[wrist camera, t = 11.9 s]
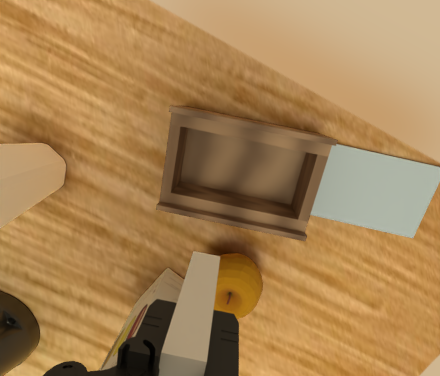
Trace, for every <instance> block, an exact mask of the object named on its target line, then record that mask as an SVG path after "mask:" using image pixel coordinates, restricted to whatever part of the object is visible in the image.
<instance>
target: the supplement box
mask: <svg viewBox="0 0 440 376" xmlns="http://www.w3.org/2000/svg"><path fill="white" fill-rule="evenodd" d="M183 282H184V279H183V278H181V277H180V276H179V275H177V274H176V273H175V272H173V271H172V270H171V269H169V268H167V269H166V270H165V271H164V272H163V273H162V274H161V275H160V276H159V277H158V278H157V279H156V281H155V282H154V283H153V284H152V285H151V286H150V287H149V288H148V289H147V291H146V292H145V293H144V294H143V295H142V296H141V297H140V298H139V299H138V301H137V302H136V304H135V305H134V307H133V309H132V311H131V313H130V315H129V316H128V318H127V320H126V322H125V324H124V326H123V327H122V329H121V331H120V333H119V335H118V337H117V338H116V340H115V342H114V344H113V346H112V348H111V349H110V351H109V353H108V355H107V357H106V359H105V360H104V362H103V364H102V366H101V368H100V370H105V369H109V368H111V367H114V366H116V365H117V357H118V348H119V347H120V346H121V344H122V343H123V342H124V341H126V340H127V339H129V338H131V337H135V336H136V333H137V331H138V329H139V327H140V325H141V322H142V320H143V318H144V316H145V314H146V311H147V309H148V307H149V305H151V304H152V303H153V302H154V301H155V300H156V299H161V300H165V301H170V302H175V303H177V301H178V298H179V295H180V292H181V289H182V286H183Z"/></svg>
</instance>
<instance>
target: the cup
mask: <svg viewBox="0 0 440 376" xmlns="http://www.w3.org/2000/svg"><path fill="white" fill-rule="evenodd" d="M65 172H66V164H65V161H64V159H63V158H62V157H61V156H60V155H59V154H58V153H56V152H55V151H54V150H53V149H52V148H51V147H50V146H49V145H47V144H44V143H19V144H0V228H2V227H3V226H5V225H6V224H8V223H9V222H11V221H12V220H14V219H15V218H17V217H18V216H20V215H21V214H23V213H24V212H25V211H27V210H28V209H30V208H31V207H33V206H34V205H36V204H37V203H39V202H40V201H42V200H43V199H45V198H46V197H48V196H49V195H51V194H52V193H54V192H55V191H56V190H58V189H59V188H61V187H62V185H63V184H64V180H65Z"/></svg>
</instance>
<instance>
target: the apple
mask: <svg viewBox="0 0 440 376" xmlns="http://www.w3.org/2000/svg"><path fill="white" fill-rule="evenodd" d="M219 256H220V263H219V271H218V278H217V286H216V294H215V302H214V310H218V311H223V312H227V313H232V314H234V315H235V317H236V319H239V318H242V317H245V316H246V315H247V314H249V313H250V312H251V311H252V310H253V309H254V307H255V306H256V305H257V303H258V300H259V298H260V295H261V292H262V288H263V282H262V277H261V274H260V272H259V270H258V268H257V266H256V264H255V263H254V262H253V261H252V260H251V259H250V258H249V257H247V256H245V255H243V254H240V253H230V254H223V255H219Z"/></svg>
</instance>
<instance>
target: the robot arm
mask: <svg viewBox="0 0 440 376" xmlns="http://www.w3.org/2000/svg"><path fill="white" fill-rule="evenodd" d="M219 263H220V256H216V255H211V254H206V253H201V252H196V251H193V254H192V257H191V260H190V264H189V267H188V270H187V273H186V276H185V279H184V282H183V286H182V289H181V292H180V295H179V298H178V301H177V303H175V302H170V301H165V300H161V299H156V300H155V301H154V302H153V303H152V304H151V305H149V307H148V309H147V311H146V314H145V316H144V318H143V320H142V322H141V325H140V327H139V329H138V331H137V333H136V336H135V337H131V338H129V339H127V340H126V341H124V342H123V343H122V344H121V346H120V347H119V348H118V357H117V365H116V366H114V367H111V368H109V369H105V370H99V371H90V372H87V369H86V367H85V366H84V365H82V364H81V363H79V362H75V361H70V362H63V363H61V364H58V365H56V366H54V367H53V368H51V369H50V370H49V371H47V372H46V373H45V374H44V375H43V376H239V375H238V372H239V344H238V342H239V335H238V334H239V323H238V321H237V319H236V317H235V315H234V314H232V313H227V312H223V311H218V310H214V302H215V294H216V286H217V278H218V271H219ZM38 341H39V328H38V324H37V322H36V320H35V318H34V316H33V315H32V313H31V312H30V311H29V310H28V308H27V307H26V306H25V305H24V304H22V303H21V302H20V301H18V300H17V299H16V298H14V297H12V296H10V295H8V294H6V293H3V292H0V376H3V375H5V374H6V373H8V372H9V371H10V370H12V369H13V368H14V367H16V366H18V365H20V364H21V363H22V362H24V361H25V360H26V359H27V357H28V356H29V355H30V354H31V353H32V352H33V350H34V349H35V348H36V346H37V344H38Z"/></svg>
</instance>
